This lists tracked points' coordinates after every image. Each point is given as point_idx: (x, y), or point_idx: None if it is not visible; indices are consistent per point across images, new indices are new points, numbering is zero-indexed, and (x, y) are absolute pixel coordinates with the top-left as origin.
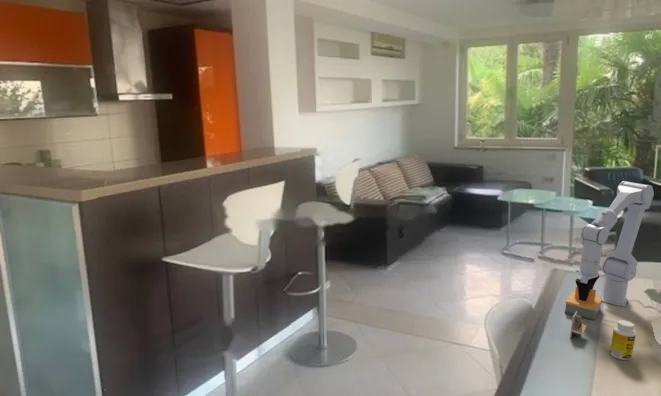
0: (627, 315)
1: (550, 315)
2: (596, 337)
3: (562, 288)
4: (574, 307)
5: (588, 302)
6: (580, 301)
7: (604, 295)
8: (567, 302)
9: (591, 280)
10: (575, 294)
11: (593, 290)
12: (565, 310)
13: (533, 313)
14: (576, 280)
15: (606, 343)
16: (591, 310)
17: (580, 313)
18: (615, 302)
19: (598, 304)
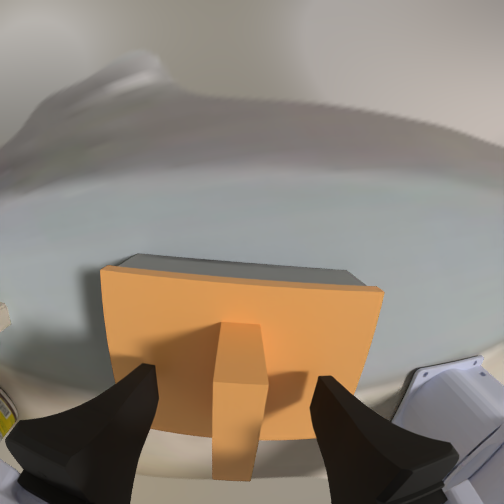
0: (306, 455)
1: (63, 193)
2: (27, 370)
3: (488, 201)
4: None
5: (196, 399)
6: (175, 360)
7: (438, 387)
8: (104, 280)
9: (343, 491)
10: (220, 339)
11: (231, 473)
12: (131, 258)
13: (47, 121)
14: (7, 442)
15: (22, 388)
16: None
17: None
18: (403, 417)
19: (206, 436)
